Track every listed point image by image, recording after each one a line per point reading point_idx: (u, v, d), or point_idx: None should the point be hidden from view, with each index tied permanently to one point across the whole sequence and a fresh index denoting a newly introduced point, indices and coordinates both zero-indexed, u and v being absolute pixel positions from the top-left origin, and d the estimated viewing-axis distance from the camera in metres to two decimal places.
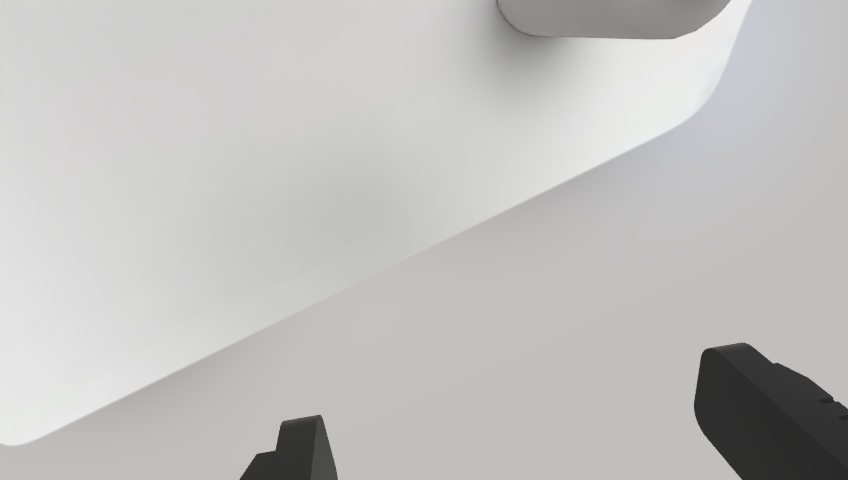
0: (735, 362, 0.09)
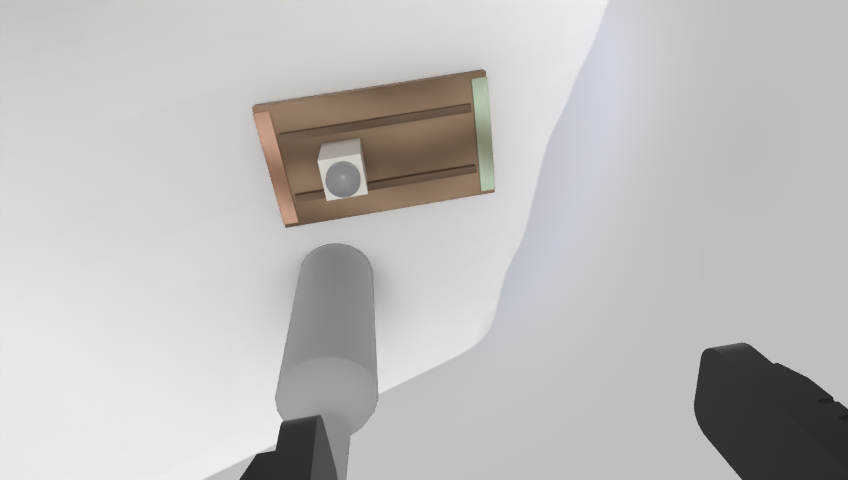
0: (735, 362, 0.09)
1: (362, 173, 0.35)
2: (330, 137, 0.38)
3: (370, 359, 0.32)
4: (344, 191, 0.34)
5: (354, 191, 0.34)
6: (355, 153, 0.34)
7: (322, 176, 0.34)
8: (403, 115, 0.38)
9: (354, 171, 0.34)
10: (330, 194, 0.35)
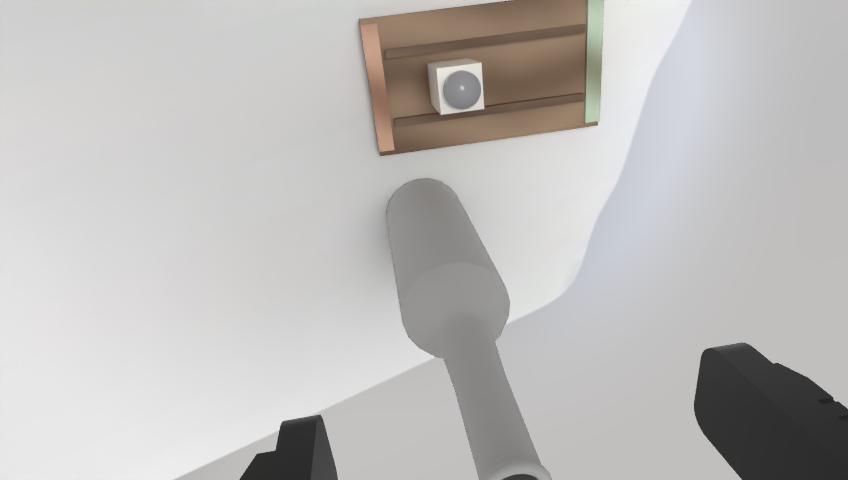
0: (735, 362, 0.09)
1: (481, 85, 0.33)
2: (436, 56, 0.36)
3: (498, 274, 0.29)
4: (463, 102, 0.32)
5: (473, 102, 0.32)
6: (475, 62, 0.32)
7: (439, 86, 0.32)
8: (515, 34, 0.36)
9: (476, 79, 0.32)
10: (445, 107, 0.33)
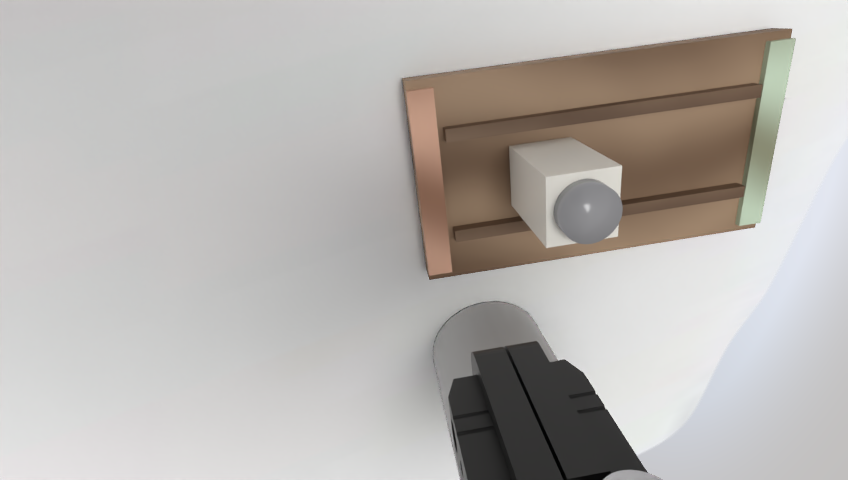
0: (516, 358, 0.10)
1: None
2: (523, 135, 0.23)
3: None
4: (590, 233, 0.19)
5: (607, 233, 0.19)
6: (609, 164, 0.19)
7: (548, 205, 0.19)
8: (652, 101, 0.22)
9: (616, 198, 0.18)
10: (555, 236, 0.20)
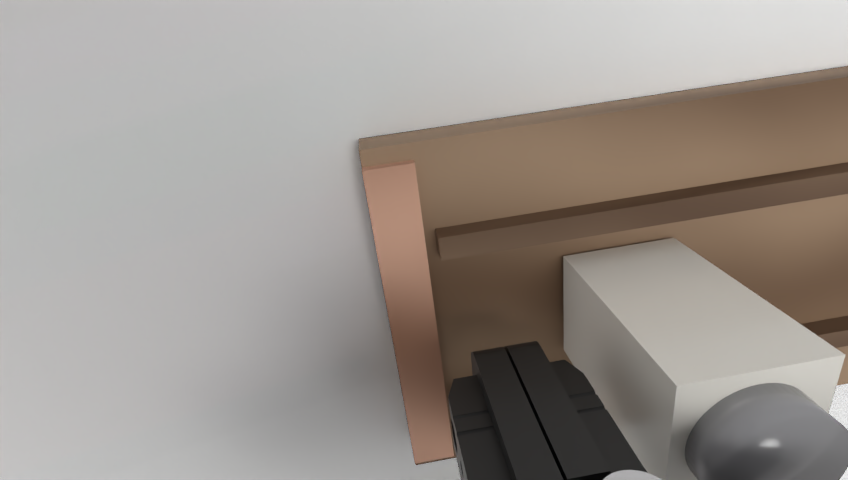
0: (516, 359, 0.10)
1: None
2: (581, 239, 0.13)
3: None
4: None
5: None
6: (811, 346, 0.09)
7: (675, 436, 0.09)
8: (823, 178, 0.12)
9: (843, 438, 0.08)
10: None
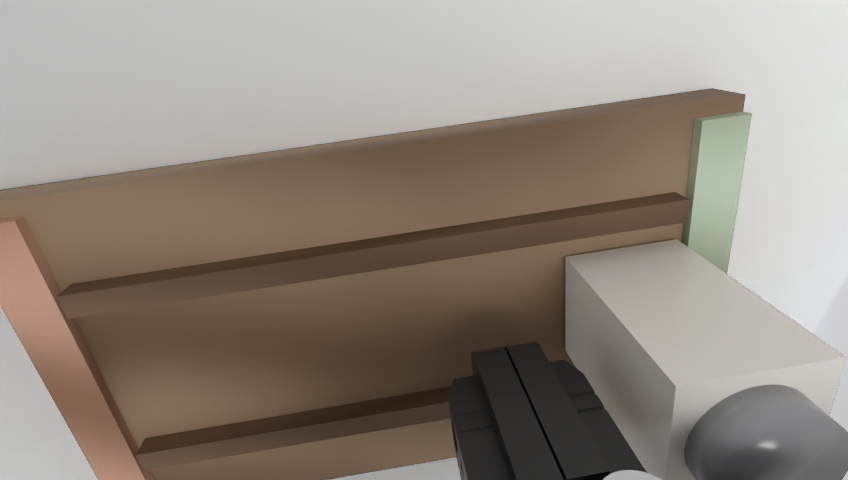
0: (516, 358, 0.10)
1: None
2: (239, 293, 0.12)
3: None
4: None
5: None
6: (811, 348, 0.09)
7: (675, 436, 0.09)
8: (473, 235, 0.12)
9: (843, 440, 0.08)
10: None
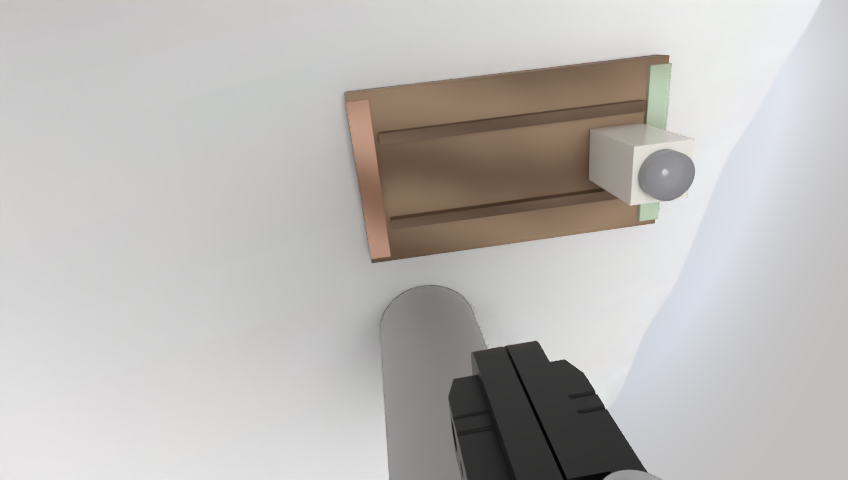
0: (516, 359, 0.10)
1: None
2: (447, 140, 0.27)
3: None
4: (668, 192, 0.24)
5: (681, 192, 0.24)
6: (683, 138, 0.24)
7: (634, 169, 0.24)
8: (553, 113, 0.27)
9: (690, 163, 0.23)
10: (637, 196, 0.24)
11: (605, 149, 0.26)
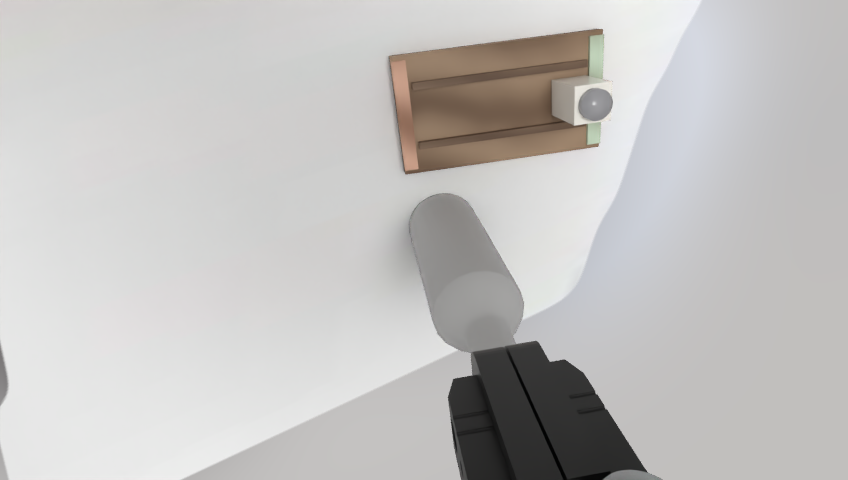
0: (516, 358, 0.10)
1: None
2: (456, 88, 0.41)
3: (513, 280, 0.34)
4: (596, 115, 0.38)
5: (605, 115, 0.38)
6: (606, 81, 0.38)
7: (575, 101, 0.38)
8: (526, 68, 0.41)
9: (609, 96, 0.37)
10: (578, 119, 0.39)
11: (560, 91, 0.40)
